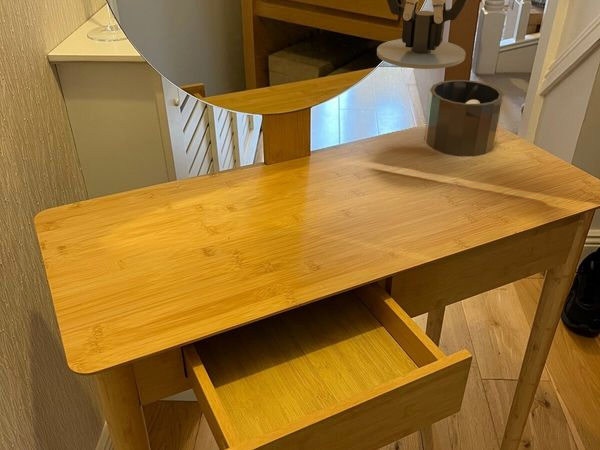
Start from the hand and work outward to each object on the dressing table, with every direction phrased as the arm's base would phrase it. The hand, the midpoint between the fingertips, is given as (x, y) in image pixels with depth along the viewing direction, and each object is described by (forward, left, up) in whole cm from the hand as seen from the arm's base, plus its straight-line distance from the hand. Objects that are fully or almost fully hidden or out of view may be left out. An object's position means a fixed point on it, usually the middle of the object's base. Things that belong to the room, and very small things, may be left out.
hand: (421, 46), depth 88 cm
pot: (-6, -11, -20) cm, 24 cm away
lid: (0, 0, -1) cm, 1 cm away
